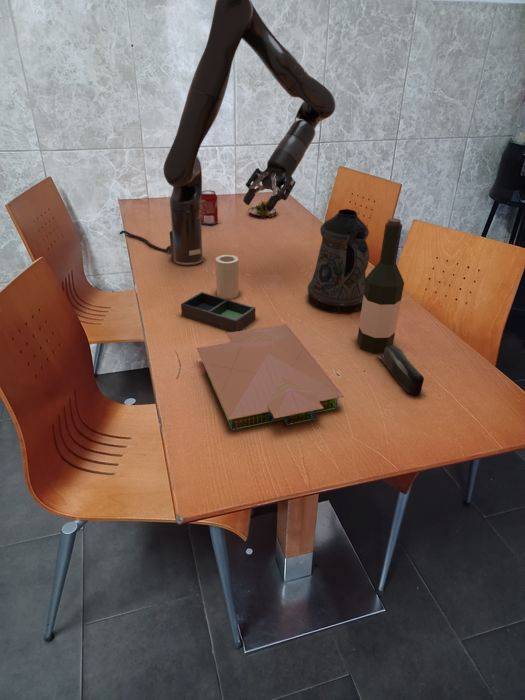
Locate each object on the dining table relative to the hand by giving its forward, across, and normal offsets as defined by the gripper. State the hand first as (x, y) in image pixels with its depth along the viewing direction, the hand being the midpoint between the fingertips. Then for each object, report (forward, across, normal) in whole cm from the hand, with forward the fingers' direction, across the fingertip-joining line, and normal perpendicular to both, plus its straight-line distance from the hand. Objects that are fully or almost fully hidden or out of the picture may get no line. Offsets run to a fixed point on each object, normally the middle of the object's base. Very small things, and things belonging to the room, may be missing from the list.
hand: (256, 206), depth 135 cm
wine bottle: (+18, +44, +14) cm, 50 cm away
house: (+40, +38, -7) cm, 55 cm away
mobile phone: (+24, +56, +9) cm, 61 cm away
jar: (+24, 0, +8) cm, 25 cm away
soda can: (-3, -55, +35) cm, 65 cm away
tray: (+32, +9, +1) cm, 33 cm away
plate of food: (-20, -50, +52) cm, 75 cm away
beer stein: (+10, +24, +23) cm, 35 cm away
